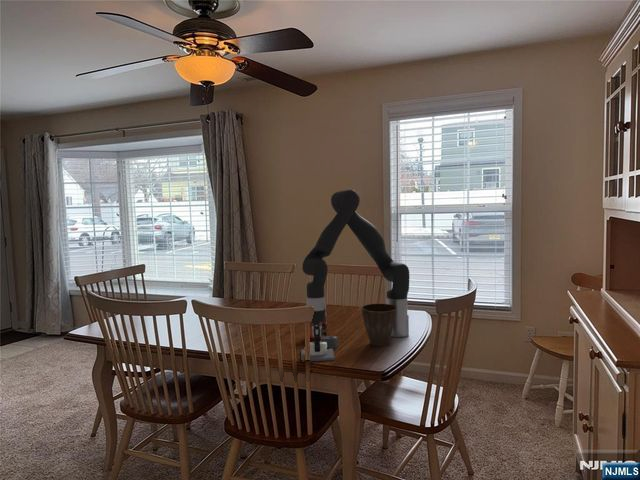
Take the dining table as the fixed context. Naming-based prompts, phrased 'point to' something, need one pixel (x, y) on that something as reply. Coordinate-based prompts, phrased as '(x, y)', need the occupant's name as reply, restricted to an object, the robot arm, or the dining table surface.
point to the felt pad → (320, 356)
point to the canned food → (323, 330)
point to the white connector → (322, 349)
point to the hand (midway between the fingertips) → (317, 349)
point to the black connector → (330, 341)
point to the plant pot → (379, 322)
